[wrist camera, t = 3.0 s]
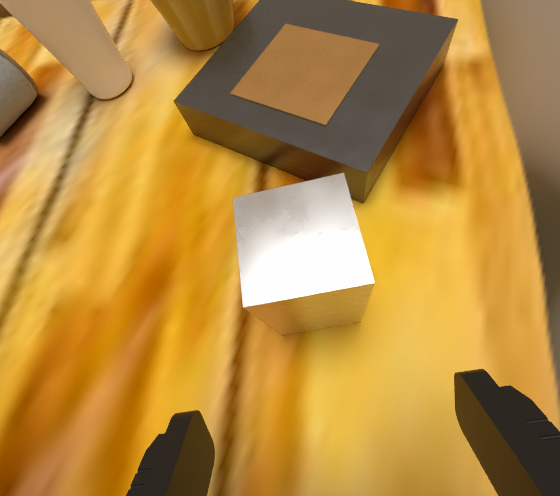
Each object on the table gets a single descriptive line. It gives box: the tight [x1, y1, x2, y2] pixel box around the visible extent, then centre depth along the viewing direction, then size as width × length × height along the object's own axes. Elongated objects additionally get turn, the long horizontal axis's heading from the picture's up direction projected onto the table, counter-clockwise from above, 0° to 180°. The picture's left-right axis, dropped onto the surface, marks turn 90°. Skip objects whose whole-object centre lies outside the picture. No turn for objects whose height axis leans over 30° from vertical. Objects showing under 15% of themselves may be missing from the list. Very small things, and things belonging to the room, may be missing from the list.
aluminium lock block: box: [233, 173, 374, 335], centre depth 18 cm, size 6×6×10 cm
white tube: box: [0, 0, 132, 99], centre depth 29 cm, size 7×7×15 cm
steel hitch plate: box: [174, 0, 458, 203], centre depth 28 cm, size 18×16×4 cm
